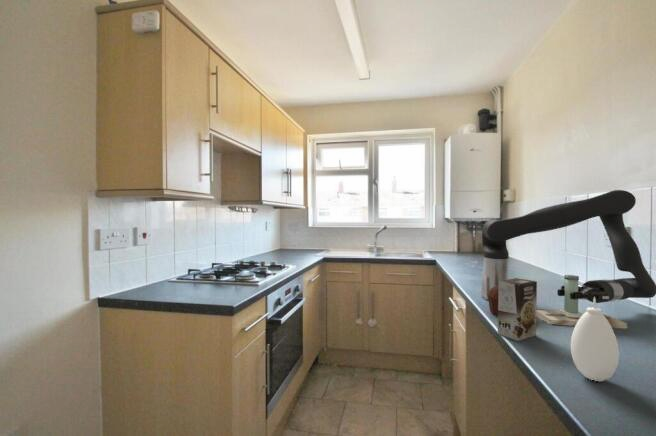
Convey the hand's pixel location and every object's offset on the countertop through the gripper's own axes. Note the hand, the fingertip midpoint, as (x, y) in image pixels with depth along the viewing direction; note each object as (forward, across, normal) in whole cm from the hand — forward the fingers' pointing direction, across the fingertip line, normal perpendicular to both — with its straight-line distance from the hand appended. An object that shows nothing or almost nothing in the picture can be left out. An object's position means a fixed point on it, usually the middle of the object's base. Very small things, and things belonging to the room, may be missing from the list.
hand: (565, 294), depth 102 cm
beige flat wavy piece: (-5, +1, +9) cm, 10 cm away
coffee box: (+25, +5, +9) cm, 27 cm away
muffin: (+13, -11, +9) cm, 20 cm away
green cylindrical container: (-3, 0, +7) cm, 8 cm away
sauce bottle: (+30, +28, +9) cm, 42 cm away
